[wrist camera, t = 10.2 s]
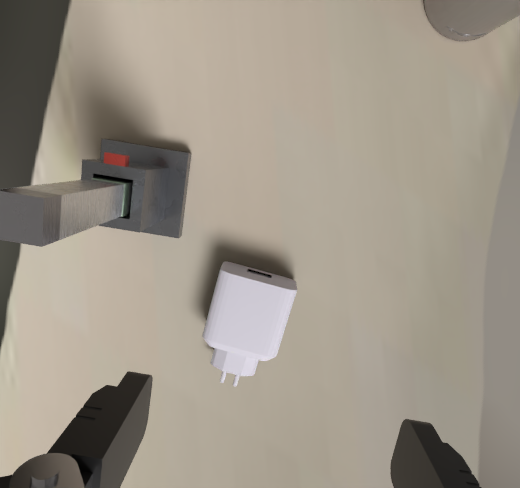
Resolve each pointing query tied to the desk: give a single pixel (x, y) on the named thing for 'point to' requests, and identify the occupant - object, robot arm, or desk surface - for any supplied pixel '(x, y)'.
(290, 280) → the charger
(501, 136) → the desk surface
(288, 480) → the desk surface
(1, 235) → the column
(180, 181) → the stand
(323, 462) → the desk surface
